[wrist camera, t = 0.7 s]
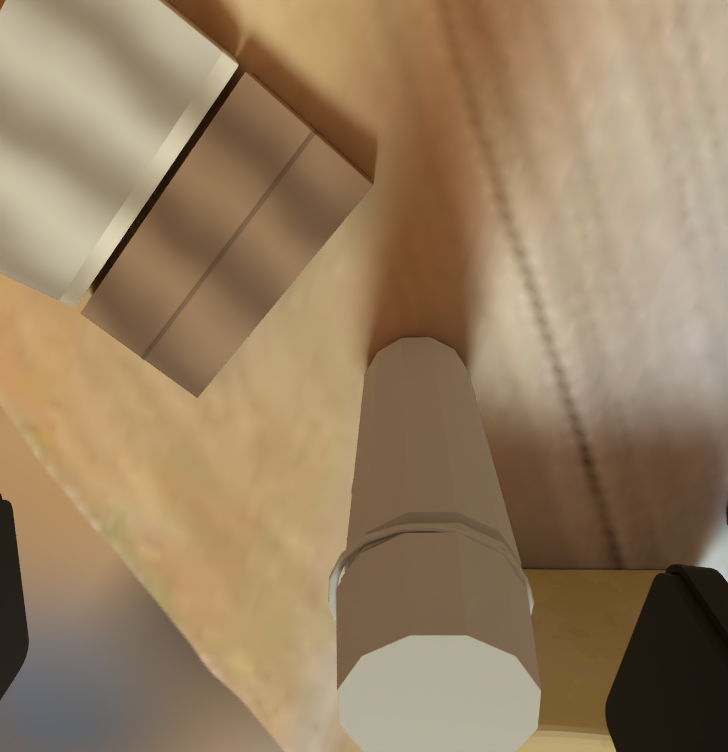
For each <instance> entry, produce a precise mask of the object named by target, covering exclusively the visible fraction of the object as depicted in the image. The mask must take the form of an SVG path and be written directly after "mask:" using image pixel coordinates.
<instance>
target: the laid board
mask: <svg viewBox="0 0 728 752" xmlns="http://www.w3.org/2000/svg"><path fill="white" fill-rule="evenodd" d="M373 183H374V181H373V180H372V179H371V178H370V177H369V176H367V175H366V174H365V173H364V172H363V171H362V170H361V169H360V168H359V167H357V166H356V165H355V164H354V163H353V162H352V161H351V160H350V159H348V158H347V157H346V156H345V155H344V154H343V153H342V152H341V151H340V150H338V149H337V148H336V147H335V146H334V145H333V144H332V143H331V142H329V141H328V140H327V139H326V138H325V137H324V136H323V135H322V134H320V133H319V132H318V131H317V130H316V129H315V128H314V127H313V126H312V125H310V124H309V123H308V122H307V121H306V120H305V119H304V118H303V117H301V116H300V115H299V114H298V113H297V112H296V111H295V110H294V109H293V108H291V107H290V106H289V105H288V104H287V103H286V102H285V101H284V100H282V99H281V98H280V97H279V96H278V95H277V94H276V93H275V92H274V91H272V90H271V89H270V88H269V87H268V86H267V85H266V84H265V83H263V82H262V81H261V80H260V79H259V78H258V77H257V76H256V75H254V74H253V73H249V72H245V73H244V75H243V76H242V78H241V79H240V80H239V82H238V83H237V85H236V86H235V88H234V89H233V91H232V92H231V94H230V95H229V97H228V98H227V99H226V101H225V102H224V104H223V105H222V107H221V108H220V110H219V111H218V113H217V114H216V116H215V117H214V119H213V120H212V121H211V123H210V124H209V126H208V127H207V129H206V130H205V132H204V133H203V135H202V136H201V138H200V139H199V140H198V142H197V143H196V145H195V146H194V148H193V149H192V151H191V152H190V154H189V155H188V157H187V158H186V159H185V161H184V162H183V164H182V165H181V167H180V168H179V170H178V171H177V173H176V174H175V176H174V177H173V179H172V180H171V181H170V183H169V184H168V186H167V187H166V189H165V190H164V192H163V193H162V195H161V196H160V198H159V199H158V200H157V202H156V203H155V205H154V206H153V208H152V209H151V211H150V212H149V214H148V215H147V217H146V218H145V219H144V221H143V222H142V224H141V225H140V227H139V228H138V230H137V231H136V233H135V234H134V236H133V237H132V239H131V240H130V241H129V243H128V244H127V246H126V247H125V249H124V250H123V252H122V253H121V255H120V256H119V258H118V259H117V260H116V262H115V263H114V265H113V266H112V268H111V269H110V271H109V272H108V274H107V275H106V277H105V278H104V279H103V281H102V282H101V284H100V285H99V287H98V288H97V290H96V291H95V293H94V294H93V296H92V297H91V299H90V300H89V301H88V303H87V304H86V306H85V307H84V309H83V310H82V312H81V314H82V315H83V316H85V317H86V318H87V319H89V320H90V321H92V322H93V323H94V324H96V325H97V326H99V327H100V328H101V329H103V330H104V331H105V332H107V333H108V334H110V335H111V336H112V337H114V338H115V339H117V340H118V341H119V342H121V343H122V344H123V345H125V346H126V347H128V348H129V349H130V350H132V351H133V352H135V353H136V354H137V355H139V356H140V357H141V358H142V359H144V360H146V361H147V362H148V363H150V364H151V365H153V366H154V367H155V368H157V369H158V370H159V371H161V372H162V373H164V374H165V375H166V376H168V377H169V378H171V379H172V380H173V381H175V382H176V383H177V384H179V385H180V386H182V387H183V388H184V389H186V390H187V391H189V392H190V393H191V394H193V395H194V396H195V397H197V398H198V397H199V395H200V394H201V393H202V392H203V391H204V389H205V388H206V387H207V386H208V385H209V383H210V382H211V381H212V380H213V378H214V377H215V376H216V375H217V374H218V372H219V371H220V370H221V369H222V368H223V366H224V365H225V364H226V363H227V361H228V360H229V359H230V358H231V357H232V355H233V354H234V353H235V352H236V351H237V349H238V348H239V347H240V346H241V345H242V343H243V342H244V341H245V340H246V338H247V337H248V336H249V335H250V334H251V332H252V331H253V330H254V329H255V328H256V326H257V325H258V324H259V323H260V321H261V320H262V319H263V318H264V317H265V315H266V314H267V313H268V312H269V311H270V309H271V308H272V307H273V306H274V305H275V303H276V302H277V301H278V300H279V298H280V297H281V296H282V295H283V294H284V292H285V291H286V290H287V289H288V288H289V286H290V285H291V284H292V283H293V281H294V280H295V279H296V278H297V277H298V275H299V274H300V273H301V272H302V271H303V269H304V268H305V267H306V266H307V265H308V263H309V262H310V261H311V260H312V258H313V257H314V256H315V255H316V254H317V252H318V251H319V250H320V249H321V248H322V246H323V245H324V244H325V243H326V241H327V240H328V239H329V238H330V237H331V235H332V234H333V233H334V232H335V231H336V229H337V228H338V227H339V226H340V225H341V223H342V222H343V221H344V220H345V218H346V217H347V216H348V215H349V214H350V212H351V211H352V210H353V209H354V208H355V206H356V205H357V204H358V203H359V201H360V200H361V199H362V198H363V197H364V195H365V194H366V193H367V192H368V191H369V189H370V188H371V187H372V186H373Z"/></svg>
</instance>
